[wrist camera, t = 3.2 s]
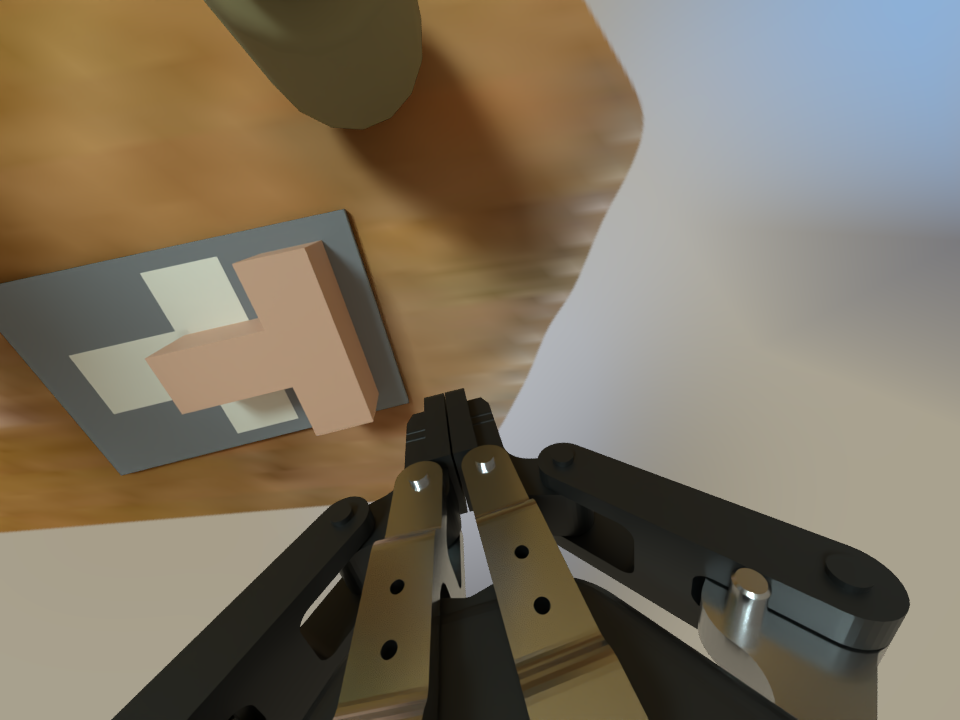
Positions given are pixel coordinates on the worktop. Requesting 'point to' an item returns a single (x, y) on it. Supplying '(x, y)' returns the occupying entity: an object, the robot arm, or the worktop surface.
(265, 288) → the T-block
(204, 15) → the worktop surface
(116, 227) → the worktop surface
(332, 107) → the squeeze bottle
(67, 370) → the mat
